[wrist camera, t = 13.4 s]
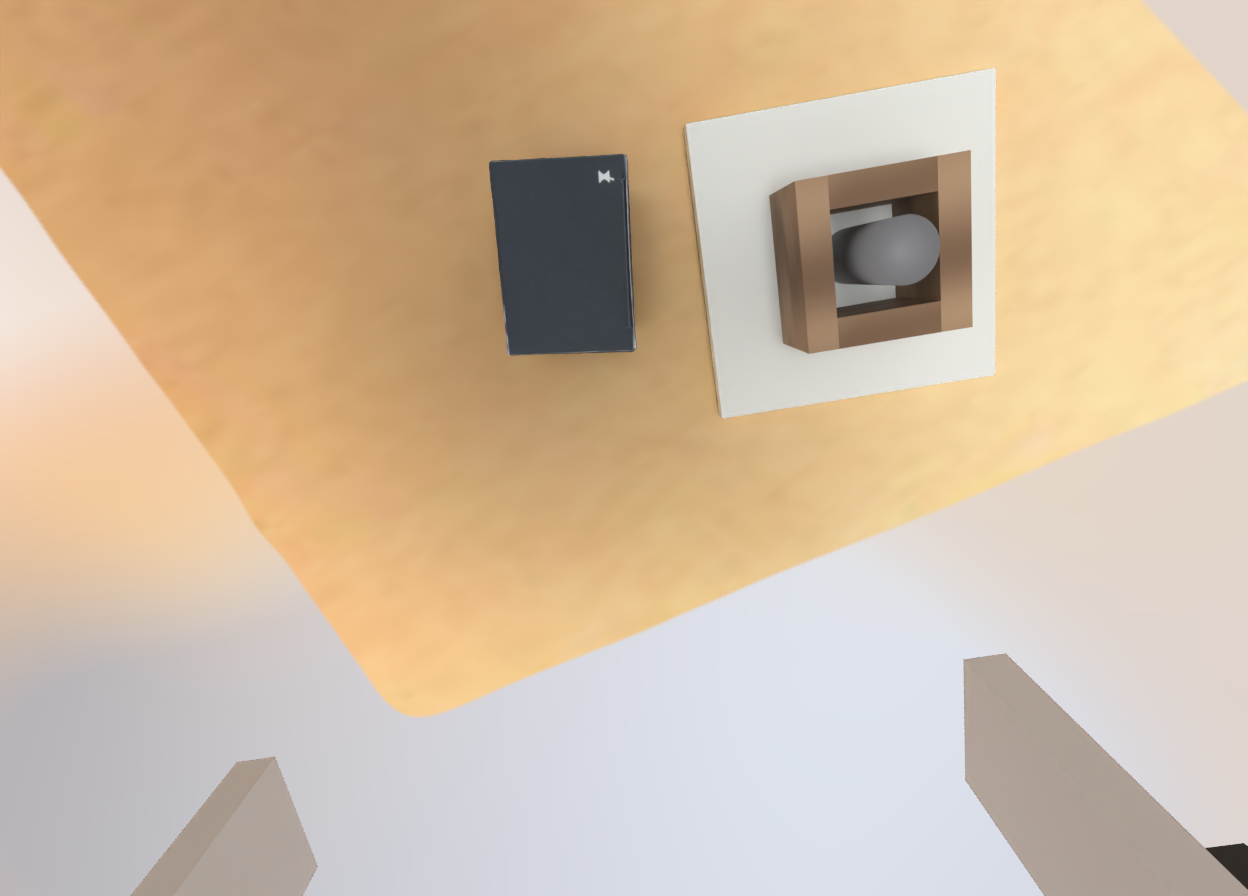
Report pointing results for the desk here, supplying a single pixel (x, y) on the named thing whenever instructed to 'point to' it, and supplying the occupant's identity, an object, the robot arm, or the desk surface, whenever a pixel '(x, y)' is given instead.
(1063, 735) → the robot arm
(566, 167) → the box
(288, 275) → the desk surface
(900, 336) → the collar
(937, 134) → the thin white baseboard
